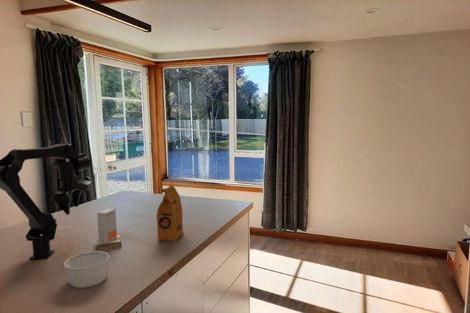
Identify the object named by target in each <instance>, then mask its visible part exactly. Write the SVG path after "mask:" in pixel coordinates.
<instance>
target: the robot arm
mask: <svg viewBox="0 0 470 313" xmlns="http://www.w3.org/2000/svg"><path fill="white" fill-rule="evenodd" d="M86 154H87V153H78V152H77V151H76V150H75V149H74V146H73V145H72V144H70V143H56V144H52V145H49V146H47V147H36V148H25V149H22V148H21V149H20V148H14V149H11V150H10V151H9V152H8V153H7V154H6V155H5V156H3V157H2V158H0V190H2V191H4V192H5V193H6V194H7V195H8V197H10V199H11V200H12V201H13V202H14V204H15V205H16V206H17V207H18V208H19V210H20V211H21V212H22V214H24V215H25V217H26V218H27V219H28V225H29V228H30V229H29V230H28V232H27V233H26V234H25V239H26V240H27V242H31V243H32V254H33V255H30V257H29V260H40V259H42V260H43V259H48V258H50V256H52V254H54V253H55V249H51V241H53V240H55V235H56V232H57V226H58V224H57V219H55V218H54V216H53V214H52V213H50V212H44V211H43V212H42V210H41V209H40V208H39V207H38V205H37V204H36V203H35V201H34V200H33V199H32V198H31V197H30V195H29V194H28V192H26V190H25V189H24V187H23V186H22V184H21V178H20V176H19V173H20V171H22V169H23V166H24V162H25V161H26V160H36V159H46V158H56V159H55V161H54V162H53V163H52V164H51V165H52V166H53V167H54V166H55V167H56V166H57V171H58V176H59V177H58V178H57V182H59V184H60V188H58V189H59V191H56V192H55V193H54V194H53V195H52V196H51V198H52V202H54V203H55V204H57V205H58V206H59V207H60V208H61V209H62V211H63V213H65V215H67V216H69V215H70V214H71V213H70V211H71V205H70V204H71V203H70V202H72V204H73V206H74V207H75V208H78V207H79V203H80V196H81V193H82V192H88V191H89V190H90V189H91V185H92V184H93V183H92V180H91V178H90V176H85V177H84V178H79V176H78V175H77V174H76V172H80V171H83V170H86V169H89V168H90V166H91V160H90V158H89V157H88V156H87V155H86Z"/></svg>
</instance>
